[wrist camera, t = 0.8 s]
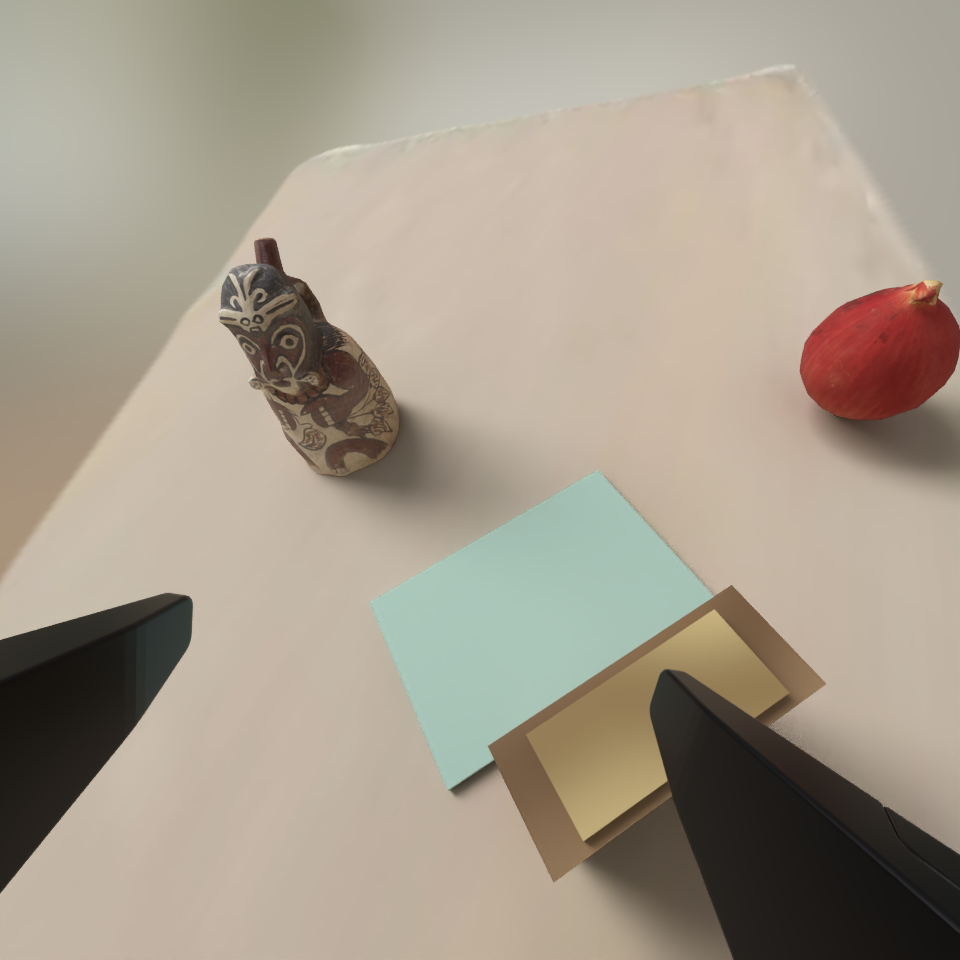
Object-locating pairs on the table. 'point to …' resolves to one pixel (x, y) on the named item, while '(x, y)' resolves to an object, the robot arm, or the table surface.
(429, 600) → the mat
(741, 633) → the menu stand
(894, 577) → the table surface
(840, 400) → the onion
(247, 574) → the table surface
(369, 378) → the figurine
